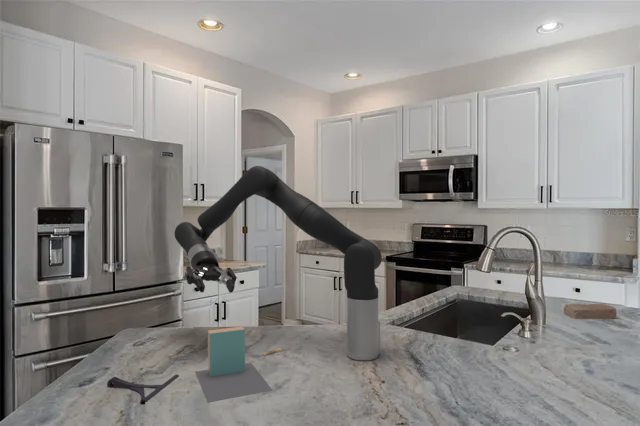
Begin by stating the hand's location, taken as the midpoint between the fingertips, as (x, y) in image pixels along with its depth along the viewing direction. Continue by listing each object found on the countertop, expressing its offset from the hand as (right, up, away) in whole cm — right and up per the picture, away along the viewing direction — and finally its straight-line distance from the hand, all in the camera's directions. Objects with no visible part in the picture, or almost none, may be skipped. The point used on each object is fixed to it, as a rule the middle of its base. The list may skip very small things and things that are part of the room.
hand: (217, 289), depth 119 cm
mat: (+7, -20, -14) cm, 26 cm away
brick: (+136, -20, +49) cm, 146 cm away
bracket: (-16, -21, -17) cm, 31 cm away
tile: (+4, -20, -9) cm, 22 cm away
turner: (+12, -20, +3) cm, 24 cm away
